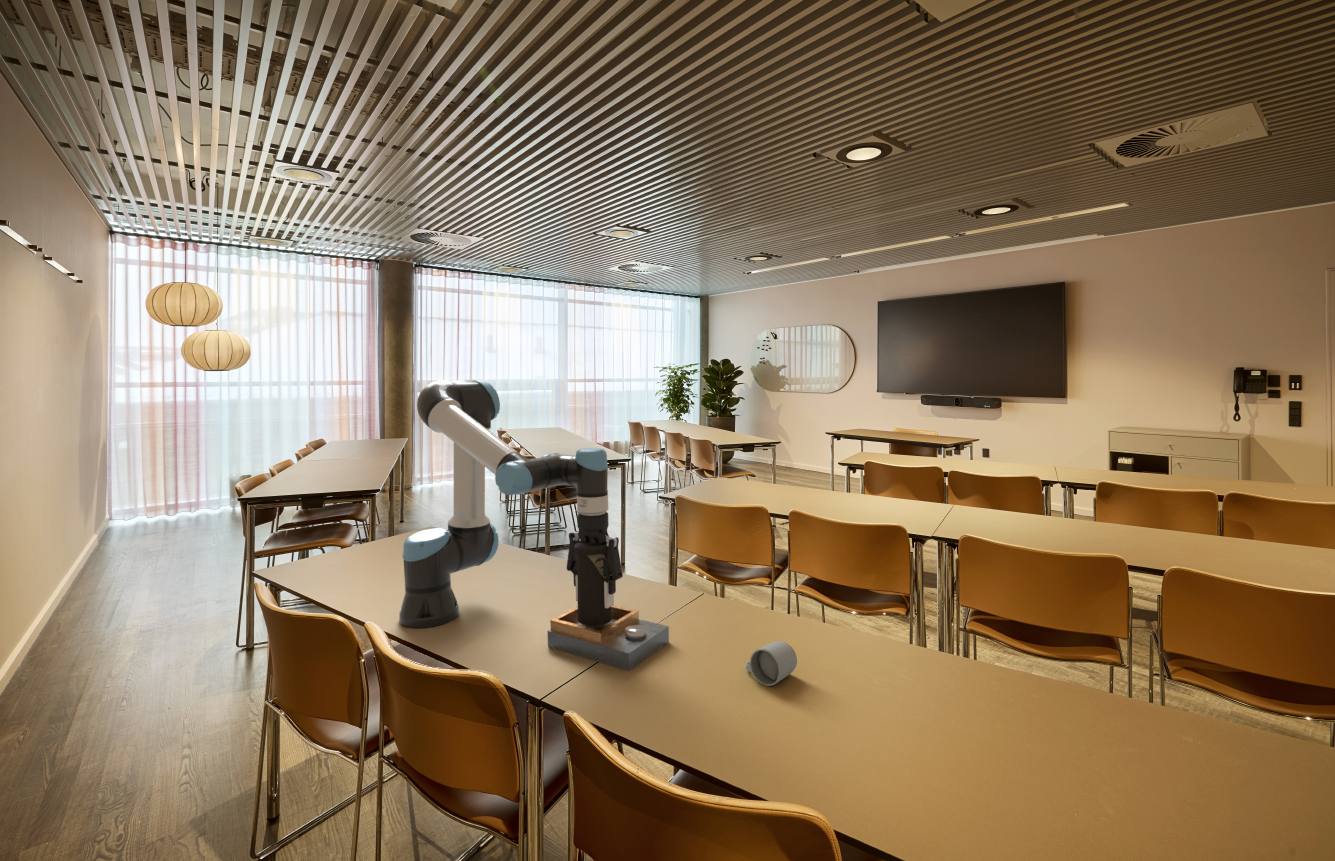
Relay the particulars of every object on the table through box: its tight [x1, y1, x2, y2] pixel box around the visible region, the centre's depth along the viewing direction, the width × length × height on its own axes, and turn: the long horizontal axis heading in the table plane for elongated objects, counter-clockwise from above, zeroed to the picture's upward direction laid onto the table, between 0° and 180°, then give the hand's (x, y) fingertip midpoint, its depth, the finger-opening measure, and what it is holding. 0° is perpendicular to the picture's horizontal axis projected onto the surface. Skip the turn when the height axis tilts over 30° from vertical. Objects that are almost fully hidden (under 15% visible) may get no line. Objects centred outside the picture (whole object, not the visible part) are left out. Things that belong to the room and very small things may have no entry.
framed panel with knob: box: [546, 604, 670, 672], centre depth 148 cm, size 24×17×6 cm
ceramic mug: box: [745, 640, 798, 687], centre depth 132 cm, size 11×8×8 cm
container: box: [574, 540, 612, 626], centre depth 149 cm, size 9×9×20 cm
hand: (594, 602), depth 150 cm, fingers closed on container, 8 cm apart
